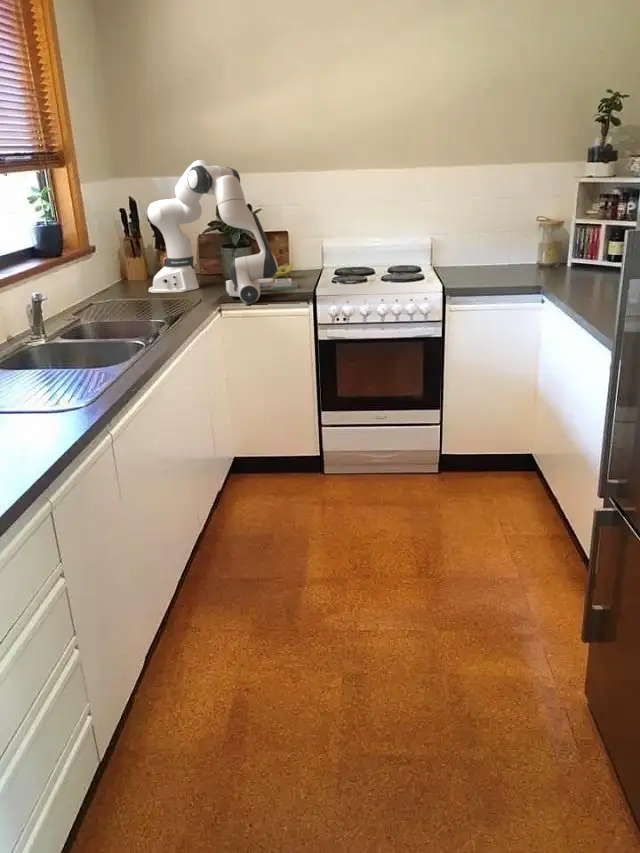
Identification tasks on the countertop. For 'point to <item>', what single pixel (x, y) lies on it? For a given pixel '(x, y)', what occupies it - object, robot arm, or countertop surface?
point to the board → (284, 284)
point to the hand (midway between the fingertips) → (250, 281)
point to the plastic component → (283, 271)
